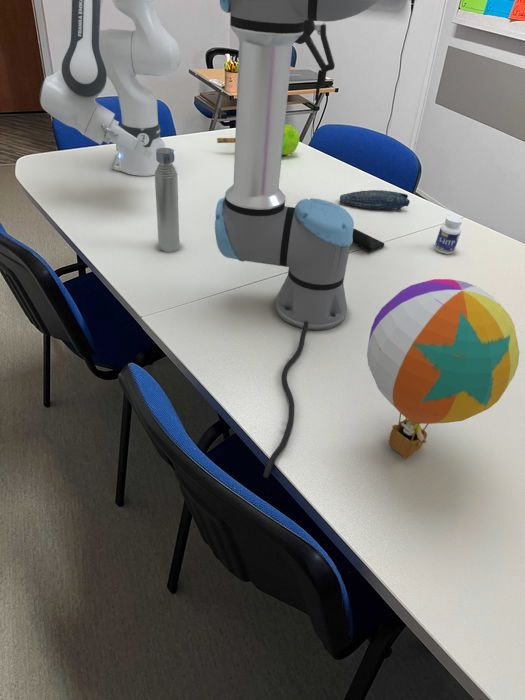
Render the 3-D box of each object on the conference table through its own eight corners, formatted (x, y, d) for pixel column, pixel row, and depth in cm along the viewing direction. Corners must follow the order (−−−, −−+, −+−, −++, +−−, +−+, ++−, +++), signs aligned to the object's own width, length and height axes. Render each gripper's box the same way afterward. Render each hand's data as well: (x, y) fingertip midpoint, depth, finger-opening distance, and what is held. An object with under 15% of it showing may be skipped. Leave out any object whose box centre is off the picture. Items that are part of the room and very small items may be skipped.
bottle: (159, 252, 128) (154, 156, 113) (157, 242, 132) (152, 148, 117) (180, 251, 129) (178, 156, 114) (178, 241, 133) (175, 148, 118)
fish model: (408, 214, 157) (412, 198, 153) (339, 207, 158) (341, 191, 154) (406, 206, 162) (410, 190, 159) (339, 199, 163) (341, 183, 160)
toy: (318, 439, 84) (351, 278, 65) (393, 389, 94) (440, 239, 76) (417, 524, 73) (492, 360, 54) (489, 457, 83) (573, 301, 65)
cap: (157, 164, 115) (156, 153, 113) (155, 157, 118) (154, 147, 116) (175, 163, 116) (175, 153, 114) (173, 157, 119) (172, 147, 117)
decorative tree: (214, 118, 187) (294, 118, 193) (214, 147, 194) (292, 146, 199) (220, 132, 174) (307, 132, 179) (220, 164, 180) (304, 162, 185)
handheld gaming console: (388, 238, 139) (380, 215, 131) (377, 260, 138) (367, 239, 130) (351, 229, 145) (341, 207, 137) (340, 251, 144) (328, 230, 136)
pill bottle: (433, 251, 139) (442, 220, 133) (435, 243, 143) (444, 213, 137) (453, 256, 138) (464, 225, 132) (454, 247, 142) (465, 217, 136)
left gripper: (106, 113, 127) (158, 144, 132) (107, 116, 145) (153, 143, 150) (95, 137, 128) (146, 167, 133) (98, 137, 146) (143, 163, 152)
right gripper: (354, 0, 122) (339, 98, 135) (249, -10, 123) (244, 87, 137) (353, 3, 116) (338, 105, 129) (244, -8, 117) (239, 94, 131)
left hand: (150, 154), depth 142 cm, fingers open, 8 cm apart
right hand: (290, 96), depth 133 cm, fingers open, 13 cm apart
